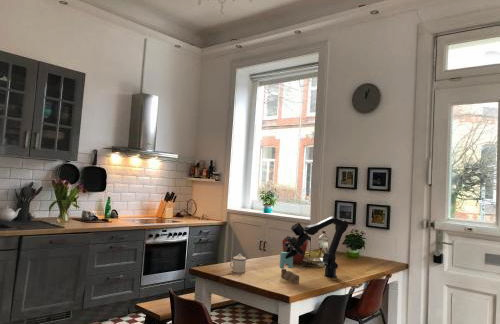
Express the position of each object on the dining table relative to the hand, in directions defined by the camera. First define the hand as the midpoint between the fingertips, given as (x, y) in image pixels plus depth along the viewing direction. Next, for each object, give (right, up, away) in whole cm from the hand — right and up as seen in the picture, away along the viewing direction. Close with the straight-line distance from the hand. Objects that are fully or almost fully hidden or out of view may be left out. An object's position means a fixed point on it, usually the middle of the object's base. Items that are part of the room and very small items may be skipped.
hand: (284, 257), depth 260 cm
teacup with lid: (-31, -12, +10) cm, 35 cm away
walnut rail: (+3, -13, -6) cm, 14 cm away
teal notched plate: (+1, -7, 0) cm, 7 cm away
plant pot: (+13, -17, +57) cm, 61 cm away
